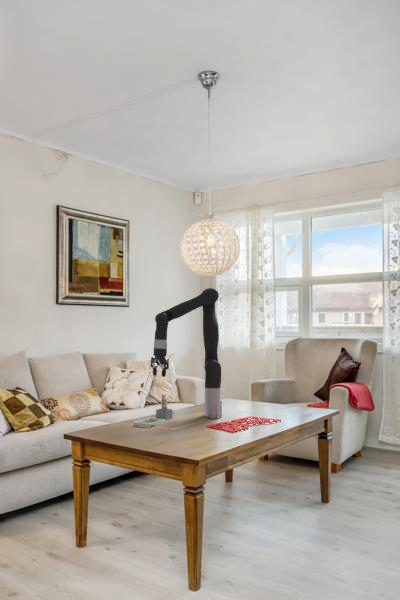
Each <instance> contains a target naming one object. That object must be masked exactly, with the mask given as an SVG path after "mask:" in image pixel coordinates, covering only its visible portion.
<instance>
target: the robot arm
mask: <svg viewBox="0 0 400 600" xmlns="http://www.w3.org/2000/svg"><path fill="white" fill-rule="evenodd" d="M218 300H219V292H218V290H217V289H215V288H212V287H209V288H205V289H203V290H202V292H201V293H200V294H198V295H197V296H195V297H193V298H191V299H189V300H186V301H183V302H181V303H179V304H177V305H174V306H172V307H170V308H169V309H166V310H164V311H162V312H159V313H157V314H156V315H155V317H154V322H155V332H154V340H153V341H154V342H153V356H152V357H150V368H151V369H152V376H157V371H158V369H157V368H158V367H160V368H161V377H162V378H165V377H166V374H167V370H169V369H170V365H169V361H170V359H169V358H166V357H167V354H168V328H169V327H168V326H169V322H171V321H173V320H175V319H179V318H181V317H183V316H185V315H187V314H188V313H190V312H192V311H194V310H196V309H199V308H202V337H203V345H204V366H203V367H204V372H205V373H204V374H205V375H204V376H205V378H204V417H206V418H207V419H216V420H217V419H220V418H222V415H223V407H222V406H223V401H222V400H221V384H222V365H221V364H220V362H219V357H218V347H219V341H220V340H219V338H220V333H219V332H220V331H219V330H220V329H219V323H218V318H217V315H216V314H217V313H216V302H217V301H218Z"/></svg>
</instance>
